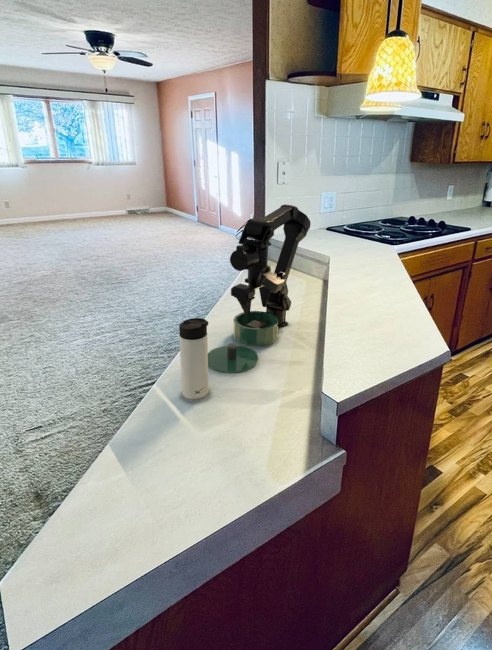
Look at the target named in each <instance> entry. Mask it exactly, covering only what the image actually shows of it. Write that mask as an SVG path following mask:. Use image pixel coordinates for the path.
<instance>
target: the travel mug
mask: <svg viewBox="0 0 492 650" xmlns="http://www.w3.org/2000/svg"><path fill="white" fill-rule="evenodd" d="M208 326H209V321H208V320H207V319H205V318H202V317H192V318H188V319H185V320H182V322H181V323H180V324H179V326H178V329H179V330H178V331H179V334H178V335H179V356H180V357H179V358H180V374H181V375H180V377H181V394H182V395H181V396H182V398H183V399H185V400H187V401H190V402H196V401H197V402H198V401H201V400H204V399H205V398H207V397H208V395H209V367H208V353H209V349H208Z"/></svg>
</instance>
